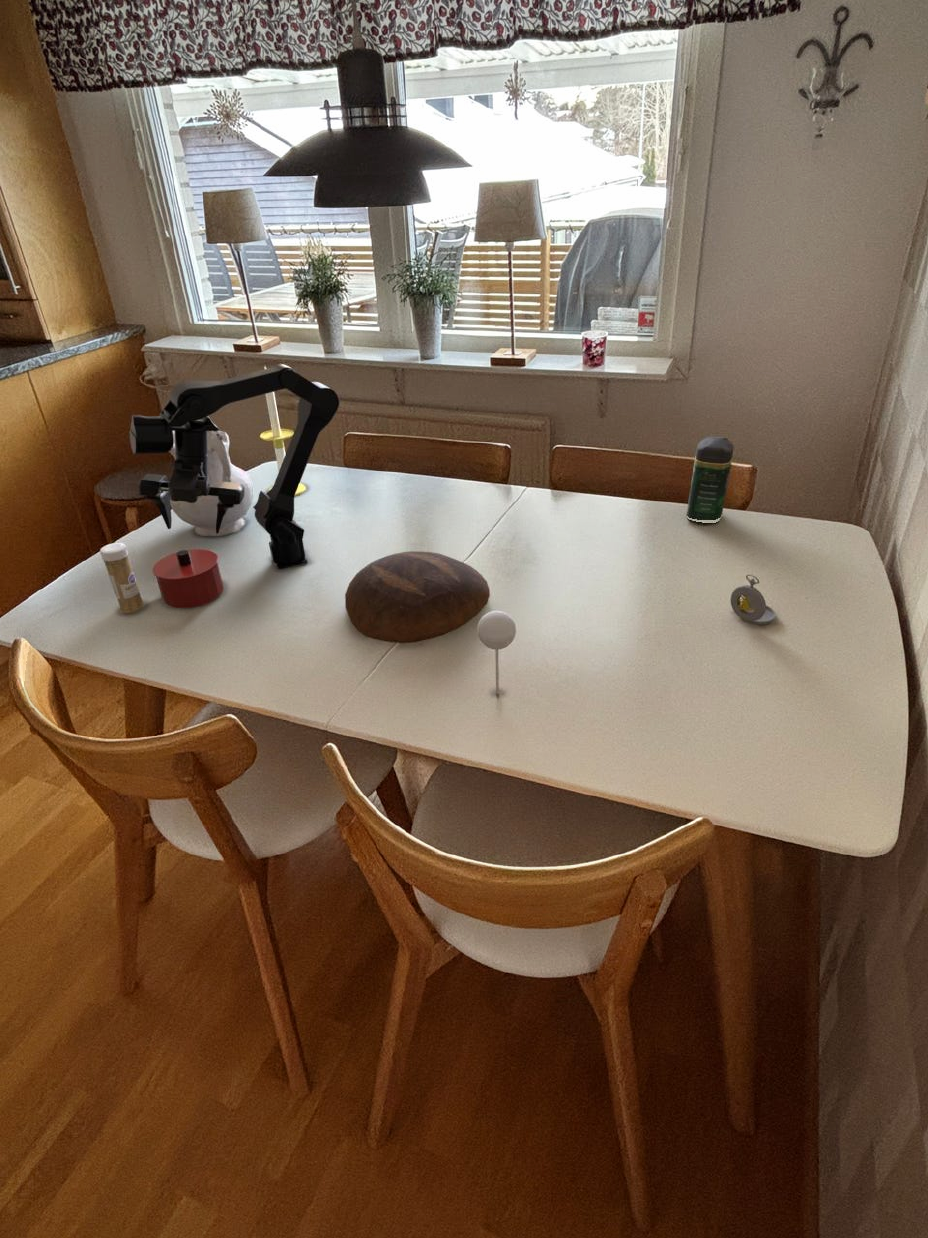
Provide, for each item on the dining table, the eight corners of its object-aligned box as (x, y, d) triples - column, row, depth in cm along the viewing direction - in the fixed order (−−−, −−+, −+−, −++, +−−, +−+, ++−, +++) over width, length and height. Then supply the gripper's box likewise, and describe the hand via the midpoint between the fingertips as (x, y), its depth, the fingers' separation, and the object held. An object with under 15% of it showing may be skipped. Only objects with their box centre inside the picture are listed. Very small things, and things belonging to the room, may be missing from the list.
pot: (210, 573, 154) (203, 546, 150) (232, 594, 146) (226, 566, 143) (155, 592, 148) (146, 564, 144) (175, 614, 140) (167, 586, 136)
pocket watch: (774, 609, 134) (785, 562, 128) (775, 634, 127) (786, 584, 122) (727, 603, 136) (736, 556, 131) (726, 627, 129) (735, 578, 124)
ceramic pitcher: (282, 526, 175) (270, 423, 164) (219, 553, 161) (200, 442, 149) (222, 510, 186) (205, 412, 174) (157, 533, 171) (135, 428, 159)
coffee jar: (719, 528, 163) (733, 449, 153) (683, 524, 166) (694, 445, 156) (723, 512, 171) (736, 435, 161) (689, 507, 173) (700, 432, 163)
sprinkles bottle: (141, 613, 141) (121, 551, 134) (117, 615, 141) (96, 553, 133) (147, 601, 145) (128, 540, 138) (124, 603, 144) (103, 542, 137)
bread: (425, 559, 156) (422, 522, 151) (519, 602, 139) (519, 562, 134) (315, 610, 139) (308, 570, 135) (407, 666, 123) (403, 623, 118)
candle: (261, 497, 189) (236, 369, 171) (276, 482, 197) (253, 359, 180) (298, 498, 187) (276, 369, 170) (311, 483, 196) (291, 359, 178)
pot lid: (205, 547, 151) (201, 532, 149) (229, 568, 143) (225, 553, 141) (144, 567, 145) (139, 551, 143) (166, 590, 136) (161, 574, 134)
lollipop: (477, 682, 118) (474, 604, 110) (512, 680, 118) (512, 601, 110) (481, 706, 113) (478, 626, 105) (518, 703, 113) (518, 623, 105)
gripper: (125, 458, 128) (131, 540, 135) (234, 469, 131) (234, 550, 137) (144, 443, 138) (149, 521, 145) (245, 454, 140) (244, 530, 147)
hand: (193, 530), depth 143 cm, fingers open, 9 cm apart
